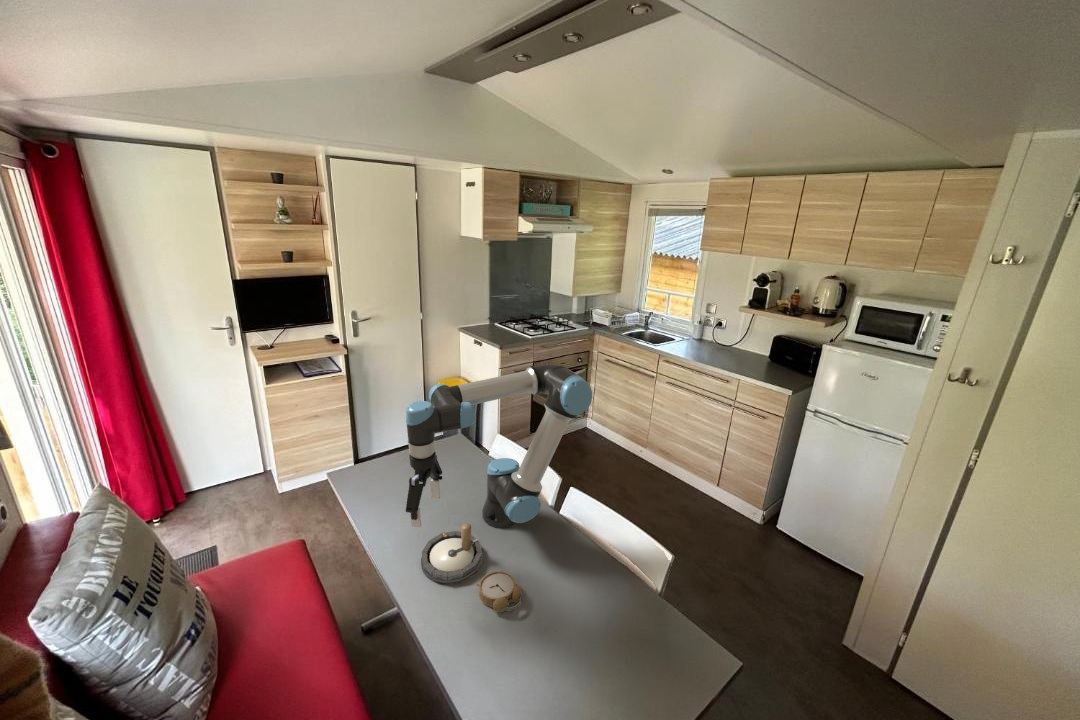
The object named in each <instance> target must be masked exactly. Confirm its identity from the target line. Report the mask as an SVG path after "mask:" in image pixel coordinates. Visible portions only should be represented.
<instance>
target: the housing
mask: <svg viewBox="0 0 1080 720" xmlns="http://www.w3.org/2000/svg"><path fill="white" fill-rule="evenodd" d="M450 538H460V539H461V531H460V530H453V531H448V532H446V531H443V532H442V533H440V534H437V535H436V536H434V537H433V538H431V539H429V540H428V542H426V544H425V546H424V548H423V549H422V550H421V559H420V567H421V571H422V572H423V573H422V574H423V575H424V576H425V577H426V578H427V579H429V580H431V582H434V583H436V584H441V585H455V584H459V583H462V582H465V581H467V580H469V579H470V578H472V577H473V576H474V575H475V574H476V573H478V571H479V570H480V568H481V566H482V563H483V550H482V546H481V543H480V540H479V539H478V538H476V537H475V536H474V535H472V534H471V545H472V547H473V549H474V558H473V561H472V562H471V563H470V564H469V565H467V566H466V567H464V568H463V569H461V570H456V571H450V572H446V571H442V570H437V569H435V568H434V567H433V566H432V565H431V563H430V552H431V550H432V548H433V547H434V546H435V545H436V544H438V543H439V542H441V541H443V540H446V539H450Z"/></svg>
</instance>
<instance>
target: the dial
mask: <svg viewBox="0 0 1080 720" xmlns="http://www.w3.org/2000/svg"><path fill="white" fill-rule="evenodd" d="M460 528H461V529H460V530H461V531H460V532H461V539H460V538H450V539H446V540H443V541H441V542H439V543H438V544H436V545H435V546H434V547H433V548H432V550H431V552H430V563H431V565H432V566H433V567H434V568H435V569H437V570H442V571H446V572H450V571H456V570H461V569H463V568H464V567H466V566H467V565H469V564H470V563H471V562H472V561H473V558H474V549H473V547H472V545H471V535H472V525H471V524H470V523H464V524H462V525H461V527H460Z"/></svg>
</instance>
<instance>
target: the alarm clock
mask: <svg viewBox="0 0 1080 720" xmlns="http://www.w3.org/2000/svg"><path fill="white" fill-rule="evenodd" d="M476 586H478V596H479V600H480V602H482V603H481V604H484V605H485V606H487V607H489V608H493V610H494V611H495V612H496V613H503V612H505V611H506V612H507V611H509V612H511V611H513V610H516V609H518V607H519V606H521V604H522V597H524V594H523V592H522V591H523V590H522V587H521V586H520V585H519V584H517V583H516V580H515V577H513V575H512V574H511V573H509V572H507V571H503V570H495V571H490V572H489V573H486V574H485V575H483V576H482V577H481V579H480V581H479V583H476ZM511 602H513V603H516V604H515V605H513V606H512V607H509V604H510V603H511ZM517 602H518V603H517Z"/></svg>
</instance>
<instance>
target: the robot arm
mask: <svg viewBox="0 0 1080 720" xmlns="http://www.w3.org/2000/svg"><path fill="white" fill-rule="evenodd" d="M528 393H529V394H531V395H537V394H545V395H547V397H546V399H545V401H544V403H543V405H544V408H545V412H544V414H543V416H542V418H541V421H540V423H539V425H538V427H537V429H536V431H535V434H534V436H533V438H532V440H531V442H530V444H529V446H528V448H527V451H526V453H525V455H524V457H523V459H522V462H521V463H520V464H519V462H518V461H517V460H515V459H513V458H509V457H500V458H497V459H494V460H491V462H489V463H488V465H487V471H486V473H487V479H486V483H487V485H486V486H487V487H486V491H487V492H486V494H487V495H486V499H485V501H484V503H483V506H482V513H481V514H482V519H483V521H484V522H485V523H486V524H487V525H489V526H491V527H493V528H498V529H505V528H510V527H513V526H514V525H516V524H524V523H527V522H528V521H531V520H532V519H534V518H535V517H536V516H537V515H538V514H539V513H540V511H541V507H542V503H541V499H540V498H539V497H540V495H541V492H542V491H543V486H542V483H541V482H542V480H543V478H544V476H545V473H546V471H547V469H548V467H549V465H550V463H551V461H552V459H553V456H554V454H555V453H556V450H557V448H558V446H559V444H560V442H561V439H562V437H563V436H564V434H565V431H566V429H567V426H568V425H569V422H571V421H574V420H576V419H577V416H580V415H582V414H583V413H584V412H587V410H588V409H589V407H590V406H591V404H592V400H593V391H592V388H591V385H590V383H588V382H587V381H586V380H585V379H584V378H583V376H580V375H578V374H577V373H576V372H574V371H572V370H571V369H569V368H568V367H566V366H565V365H562V364H558V363H557V364H556V363H552V364H551V363H550V364H548V363H547V364H542V365H541V364H540V365H534V366H530V367H527V368H526V369H525V370H524V371H520V372H515V373H509V374H506V375H500V376H494V377H490V378H486V379H482V380H481V379H480V380H475V381H471V382H466V383H461V384H456V385H451V386H450V385H449V386H448V385H447V384H445V383H438V384H435V385H433V386H432V387H431V389H429V394H428V398H429V399H428V400H429V401H426V400H423V401H421V400H417V401H413V402H412V403H410V404H408V405H407V407H406V408H405V409H406V410H405V411H406V412H405V414H406V419H405V421H406V422H405V423H406V431H407V439H408V440H407V444H408V451H409V457H408V458H409V466H410V467H411V468H412V469H413V470H414V474H413V475H414V476H413V477H409V480H408V484H409V485H408V491H407V498H406V506H405V512H406V513H409V514H410V519H411V527H414V528H421V527H422V518H421V517H422V515H421V507H419V506H420V503H421V499H422V494H423V490H424V488H425V486H426V485H427V480H428V479H429V478H431V479H430V480H429V481H430V482H429V483H430V495H431V498H433V499H440V498H441V489H440V486H441V485H440V481H441V480H443V476H442V474H443V470H442V467H441V466H440V462H439V461H438V455H436V454H437V453H436V449H437V448H436V438H435V434H440V433H444V432H449V431H455V430H461V429H462V430H463V429H464V428H469V427H472V426H474V424H475V422H476V413H475V408H474V405H479V404H482V403H483V404H484V403H487V402H492V401H497V400H502V399H506V398H510V397H514V396H515V397H516V396H519V395H523V394H528Z"/></svg>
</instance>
